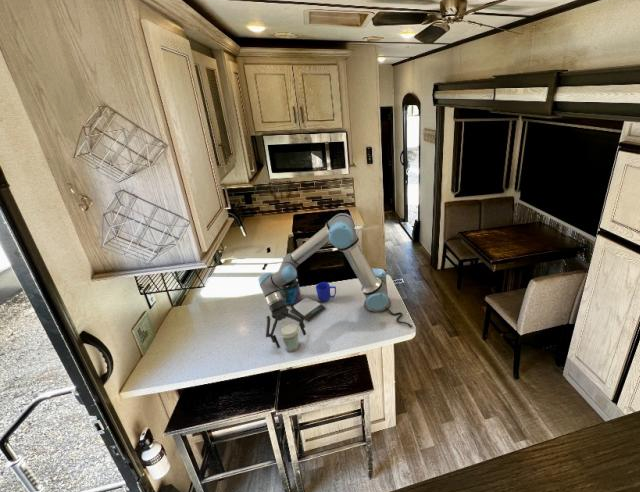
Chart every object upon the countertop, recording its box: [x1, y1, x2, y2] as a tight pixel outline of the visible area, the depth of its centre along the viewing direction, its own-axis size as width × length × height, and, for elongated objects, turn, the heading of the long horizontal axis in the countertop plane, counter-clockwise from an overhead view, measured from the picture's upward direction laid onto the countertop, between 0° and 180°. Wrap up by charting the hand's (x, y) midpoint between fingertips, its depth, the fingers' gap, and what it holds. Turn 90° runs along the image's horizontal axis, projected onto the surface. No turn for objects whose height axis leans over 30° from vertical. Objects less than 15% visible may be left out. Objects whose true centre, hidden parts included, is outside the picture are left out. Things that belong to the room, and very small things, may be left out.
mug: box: [315, 281, 337, 303], centre depth 200 cm, size 8×12×10 cm
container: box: [279, 277, 302, 307], centre depth 198 cm, size 12×12×17 cm
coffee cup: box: [280, 323, 300, 353], centre depth 164 cm, size 9×8×12 cm
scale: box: [289, 297, 326, 322], centre depth 192 cm, size 15×13×3 cm
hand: (292, 341), depth 163 cm, fingers open, 13 cm apart
